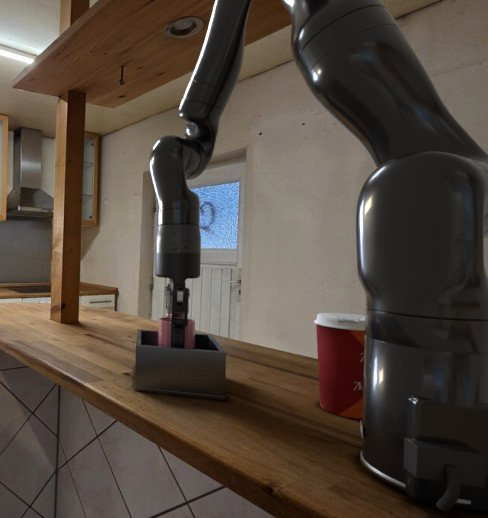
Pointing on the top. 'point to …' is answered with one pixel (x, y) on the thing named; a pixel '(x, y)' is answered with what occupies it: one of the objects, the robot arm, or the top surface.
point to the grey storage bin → (180, 367)
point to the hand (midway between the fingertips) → (176, 343)
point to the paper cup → (341, 362)
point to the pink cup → (165, 333)
